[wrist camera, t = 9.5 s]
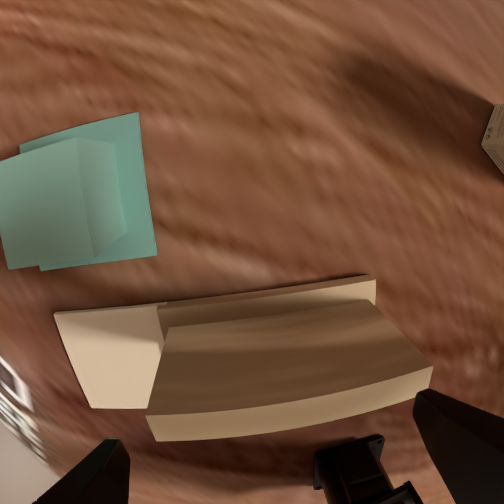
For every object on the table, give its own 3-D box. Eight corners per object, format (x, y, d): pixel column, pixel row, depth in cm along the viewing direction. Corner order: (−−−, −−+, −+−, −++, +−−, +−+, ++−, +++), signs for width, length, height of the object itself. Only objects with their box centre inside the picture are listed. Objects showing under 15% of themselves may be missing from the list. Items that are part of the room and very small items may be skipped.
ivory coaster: (192, 402, 21) (192, 406, 21) (92, 404, 21) (91, 407, 20) (167, 301, 19) (166, 304, 18) (55, 311, 18) (53, 314, 18)
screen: (367, 329, 21) (430, 407, 12) (172, 358, 20) (153, 457, 12) (369, 274, 20) (447, 339, 11) (159, 302, 19) (124, 393, 11)
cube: (126, 232, 17) (94, 257, 12) (53, 243, 17) (8, 269, 12) (114, 140, 16) (76, 133, 11) (39, 159, 15) (-11, 162, 11)
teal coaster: (157, 253, 18) (156, 255, 18) (43, 269, 18) (40, 271, 17) (138, 113, 16) (136, 112, 15) (22, 145, 15) (19, 145, 15)
